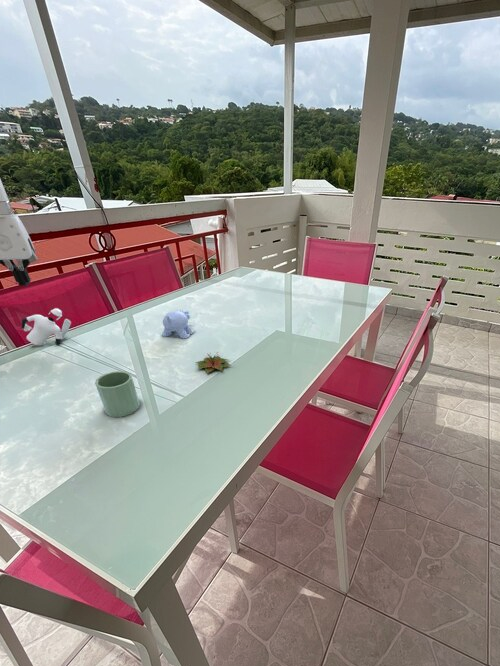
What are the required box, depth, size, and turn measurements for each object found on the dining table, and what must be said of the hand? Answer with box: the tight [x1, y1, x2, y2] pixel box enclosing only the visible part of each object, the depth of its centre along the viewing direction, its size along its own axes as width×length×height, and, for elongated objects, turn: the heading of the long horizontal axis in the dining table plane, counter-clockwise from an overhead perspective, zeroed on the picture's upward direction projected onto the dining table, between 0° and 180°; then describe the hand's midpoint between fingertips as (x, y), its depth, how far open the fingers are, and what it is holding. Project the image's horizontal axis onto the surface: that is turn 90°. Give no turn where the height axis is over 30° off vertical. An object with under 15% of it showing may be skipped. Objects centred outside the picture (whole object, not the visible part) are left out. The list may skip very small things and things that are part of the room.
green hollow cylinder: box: [94, 370, 140, 418], centre depth 87 cm, size 8×8×9 cm
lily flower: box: [194, 351, 232, 374], centre depth 110 cm, size 12×12×5 cm
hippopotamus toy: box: [161, 309, 195, 339], centre depth 129 cm, size 11×15×10 cm
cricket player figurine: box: [20, 307, 72, 347], centre depth 117 cm, size 13×10×15 cm
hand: (24, 284), depth 92 cm, fingers closed
